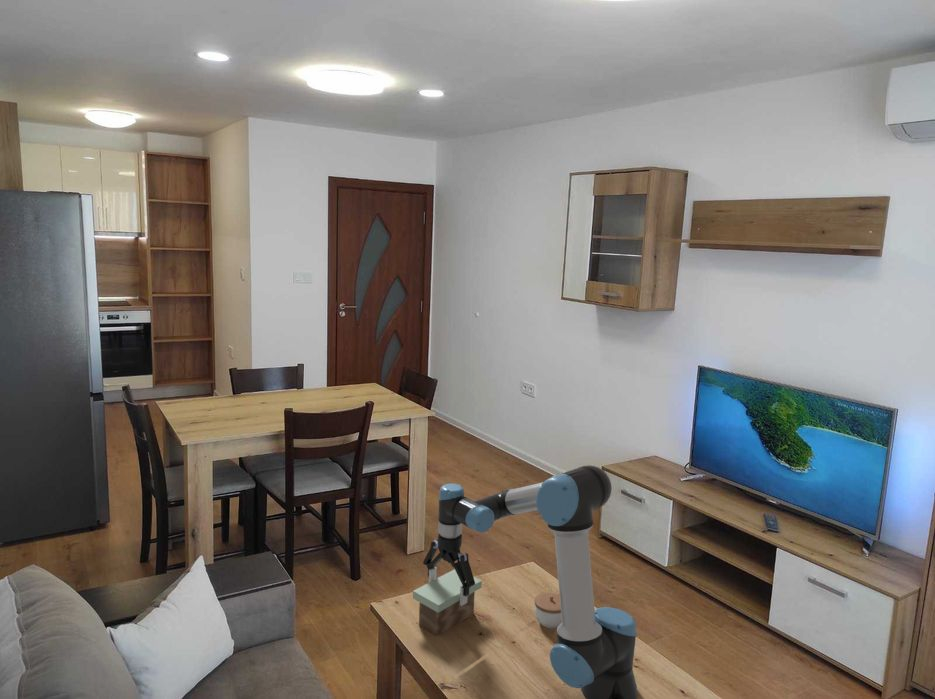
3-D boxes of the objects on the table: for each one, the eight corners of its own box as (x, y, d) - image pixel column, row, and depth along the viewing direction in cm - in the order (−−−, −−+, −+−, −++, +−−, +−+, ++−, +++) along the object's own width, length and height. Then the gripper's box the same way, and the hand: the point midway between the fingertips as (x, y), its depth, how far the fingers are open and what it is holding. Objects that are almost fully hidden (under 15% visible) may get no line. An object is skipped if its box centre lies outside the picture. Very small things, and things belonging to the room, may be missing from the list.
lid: (456, 577, 224) (456, 568, 223) (481, 590, 216) (481, 580, 216) (412, 601, 209) (413, 591, 208) (438, 615, 202) (438, 605, 201)
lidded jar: (565, 635, 210) (567, 608, 208) (531, 630, 212) (533, 602, 210) (567, 616, 220) (569, 590, 218) (534, 611, 222) (536, 585, 220)
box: (455, 605, 223) (456, 578, 221) (473, 615, 218) (474, 587, 216) (418, 627, 211) (419, 598, 209) (437, 638, 205) (438, 608, 204)
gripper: (488, 542, 203) (485, 606, 207) (430, 516, 219) (428, 576, 223) (472, 551, 198) (469, 616, 202) (413, 523, 214) (411, 584, 218)
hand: (447, 595), depth 213 cm, fingers open, 13 cm apart
